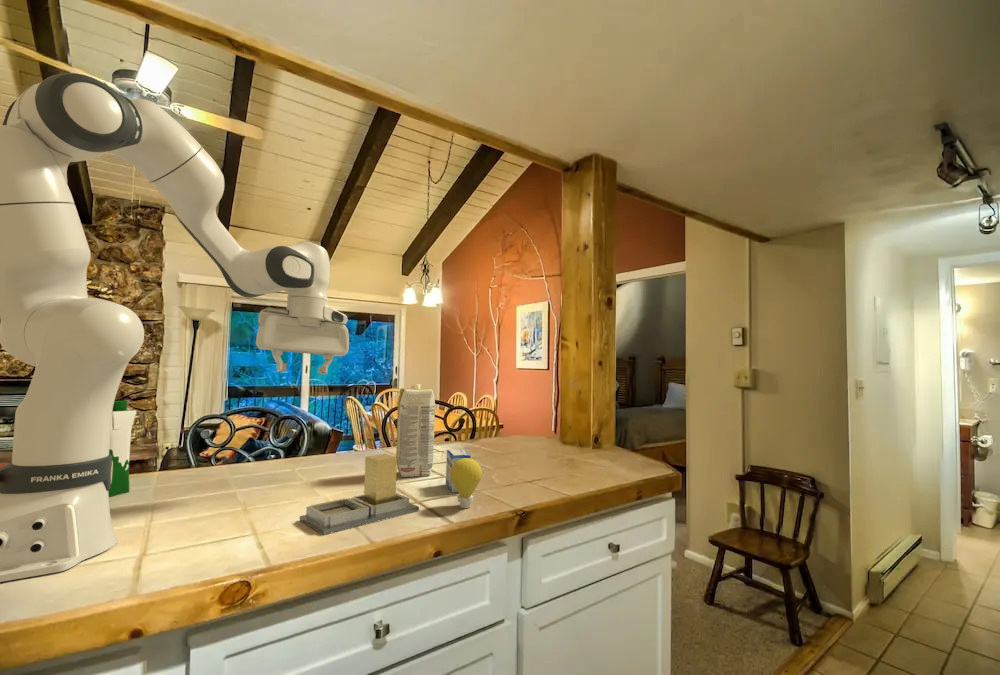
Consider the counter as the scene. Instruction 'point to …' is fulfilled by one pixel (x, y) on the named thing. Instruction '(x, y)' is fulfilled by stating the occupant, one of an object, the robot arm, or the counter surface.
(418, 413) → the juice carton
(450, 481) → the medicine box
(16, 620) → the counter surface
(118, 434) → the milk carton
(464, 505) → the light bulb
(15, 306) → the robot arm
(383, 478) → the wooden block
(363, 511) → the grey double tray
